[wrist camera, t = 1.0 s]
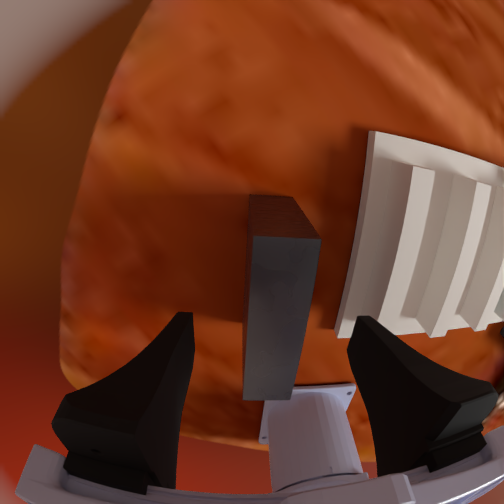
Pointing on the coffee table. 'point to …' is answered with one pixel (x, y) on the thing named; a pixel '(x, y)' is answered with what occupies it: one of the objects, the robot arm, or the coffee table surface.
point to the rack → (426, 241)
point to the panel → (276, 294)
